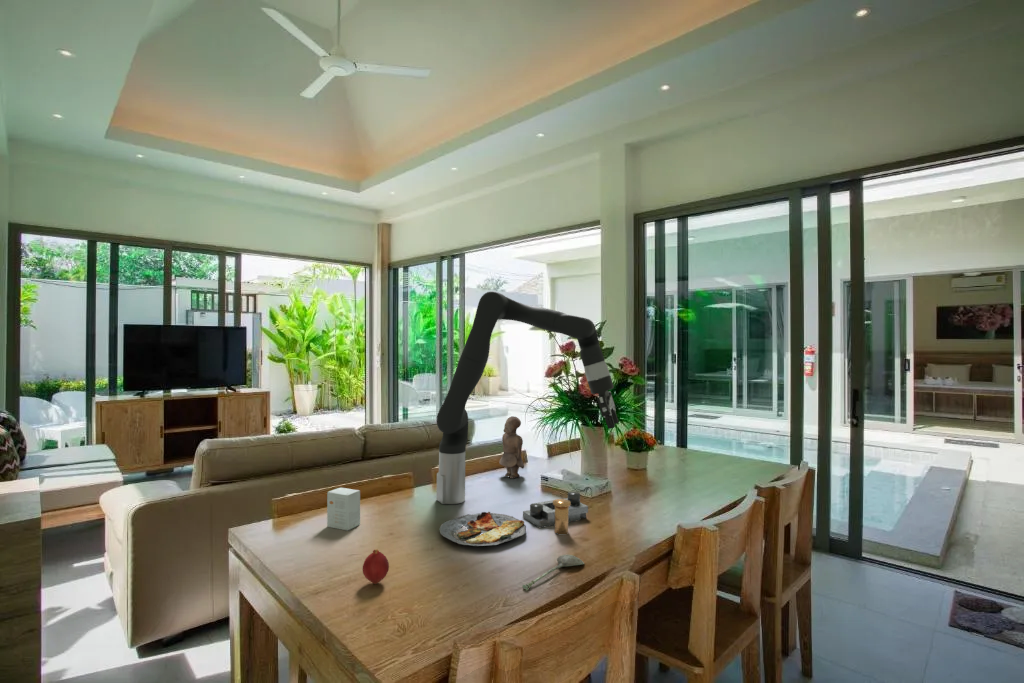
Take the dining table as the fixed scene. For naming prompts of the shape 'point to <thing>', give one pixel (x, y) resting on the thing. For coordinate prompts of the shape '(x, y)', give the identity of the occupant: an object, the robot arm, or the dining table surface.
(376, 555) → the onion
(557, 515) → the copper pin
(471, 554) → the dining table surface
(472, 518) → the food plate
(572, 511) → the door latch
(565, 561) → the soupspoon
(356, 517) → the small box
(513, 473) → the clay figurine
